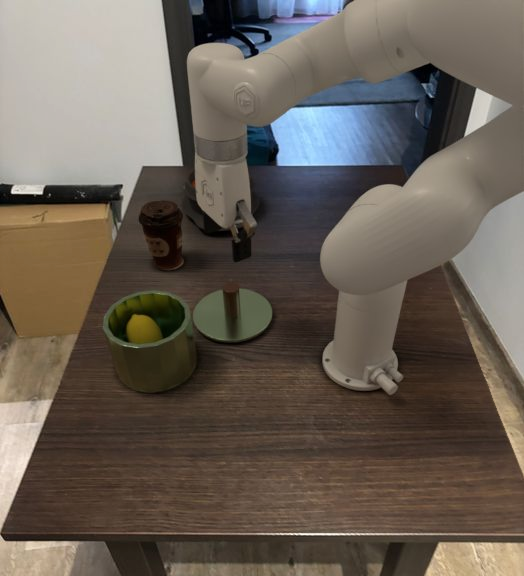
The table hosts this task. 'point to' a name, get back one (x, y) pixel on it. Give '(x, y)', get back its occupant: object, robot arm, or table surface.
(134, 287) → the table surface
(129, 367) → the tin
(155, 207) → the coffee cup
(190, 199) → the casserole
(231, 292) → the tin lid
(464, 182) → the robot arm
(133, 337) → the lemon
